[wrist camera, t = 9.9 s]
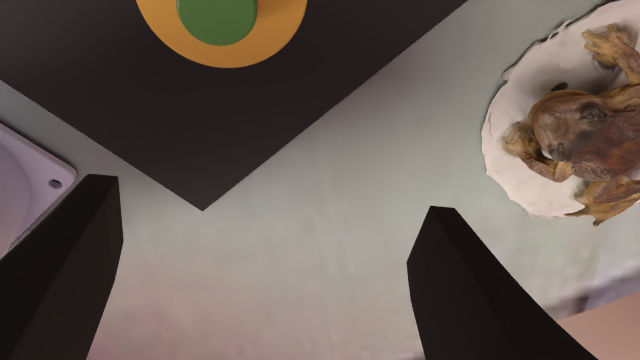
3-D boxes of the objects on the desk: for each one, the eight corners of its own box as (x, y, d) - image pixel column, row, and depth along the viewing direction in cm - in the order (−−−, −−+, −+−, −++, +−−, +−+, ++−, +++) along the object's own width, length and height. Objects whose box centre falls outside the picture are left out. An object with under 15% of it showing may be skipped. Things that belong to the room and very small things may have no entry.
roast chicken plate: (423, 181, 24) (443, 242, 21) (609, -76, 17) (676, -39, 15) (609, 240, 28) (647, 300, 25) (825, 45, 21) (913, 95, 18)
